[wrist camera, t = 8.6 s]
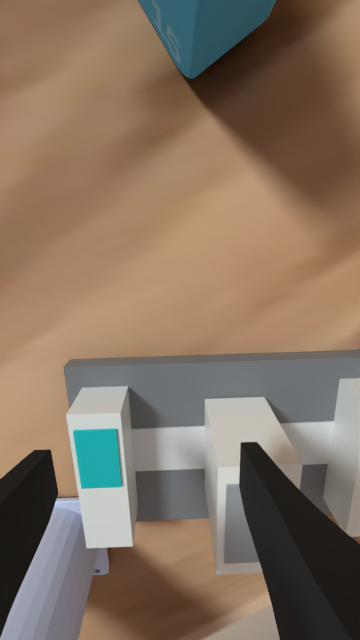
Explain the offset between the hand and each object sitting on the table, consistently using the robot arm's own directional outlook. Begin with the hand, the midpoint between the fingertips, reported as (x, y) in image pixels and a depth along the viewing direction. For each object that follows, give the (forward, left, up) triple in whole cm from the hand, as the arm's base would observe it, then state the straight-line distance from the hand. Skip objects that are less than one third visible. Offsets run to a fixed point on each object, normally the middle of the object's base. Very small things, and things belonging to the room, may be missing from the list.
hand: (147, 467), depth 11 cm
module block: (+5, -6, -8) cm, 11 cm away
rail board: (+5, -6, -9) cm, 12 cm away
